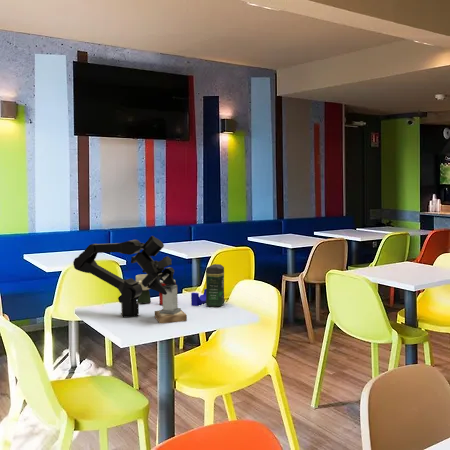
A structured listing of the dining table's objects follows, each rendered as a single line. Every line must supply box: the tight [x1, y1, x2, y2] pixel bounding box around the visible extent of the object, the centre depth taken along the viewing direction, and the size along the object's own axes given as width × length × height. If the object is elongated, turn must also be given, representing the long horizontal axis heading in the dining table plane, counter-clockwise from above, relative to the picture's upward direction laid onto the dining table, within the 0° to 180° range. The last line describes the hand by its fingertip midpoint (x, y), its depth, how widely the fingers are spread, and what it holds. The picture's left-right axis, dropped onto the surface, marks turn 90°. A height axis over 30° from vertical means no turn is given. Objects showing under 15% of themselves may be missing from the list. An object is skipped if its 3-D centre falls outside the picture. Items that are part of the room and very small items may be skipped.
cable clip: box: [190, 288, 206, 307], centre depth 251 cm, size 12×4×6 cm, turn 148°
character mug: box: [135, 273, 152, 304], centre depth 253 cm, size 11×7×13 cm, turn 166°
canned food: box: [158, 279, 177, 306], centre depth 250 cm, size 8×8×11 cm
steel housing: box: [160, 284, 182, 315], centre depth 222 cm, size 6×6×11 cm
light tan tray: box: [154, 309, 188, 324], centre depth 222 cm, size 11×11×3 cm
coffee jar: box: [205, 263, 225, 308], centre depth 247 cm, size 10×8×19 cm
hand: (171, 291), depth 221 cm, fingers open, 9 cm apart
